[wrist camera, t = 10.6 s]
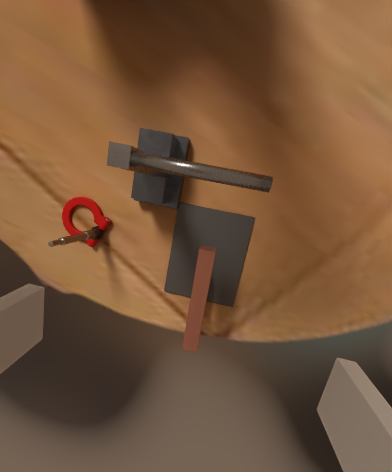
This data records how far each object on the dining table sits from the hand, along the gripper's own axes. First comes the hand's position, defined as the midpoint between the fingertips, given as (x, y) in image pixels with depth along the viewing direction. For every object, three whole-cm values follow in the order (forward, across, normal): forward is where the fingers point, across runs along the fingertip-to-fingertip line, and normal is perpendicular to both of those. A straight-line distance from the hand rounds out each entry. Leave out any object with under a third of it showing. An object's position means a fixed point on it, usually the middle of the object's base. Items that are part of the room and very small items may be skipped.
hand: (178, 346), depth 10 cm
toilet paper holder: (+33, -5, +8) cm, 34 cm away
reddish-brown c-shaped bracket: (+28, 0, -2) cm, 28 cm away
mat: (+32, 0, -6) cm, 33 cm away
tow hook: (+33, -25, -4) cm, 41 cm away
